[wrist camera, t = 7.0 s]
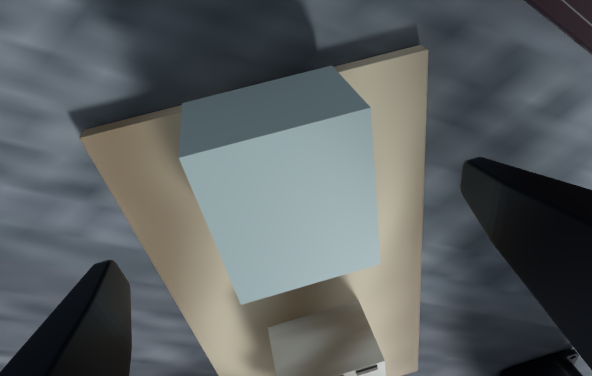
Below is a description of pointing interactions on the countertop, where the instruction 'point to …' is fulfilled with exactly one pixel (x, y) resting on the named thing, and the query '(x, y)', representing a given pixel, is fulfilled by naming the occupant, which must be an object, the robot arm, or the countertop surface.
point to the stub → (284, 180)
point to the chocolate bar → (569, 18)
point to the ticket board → (305, 300)
